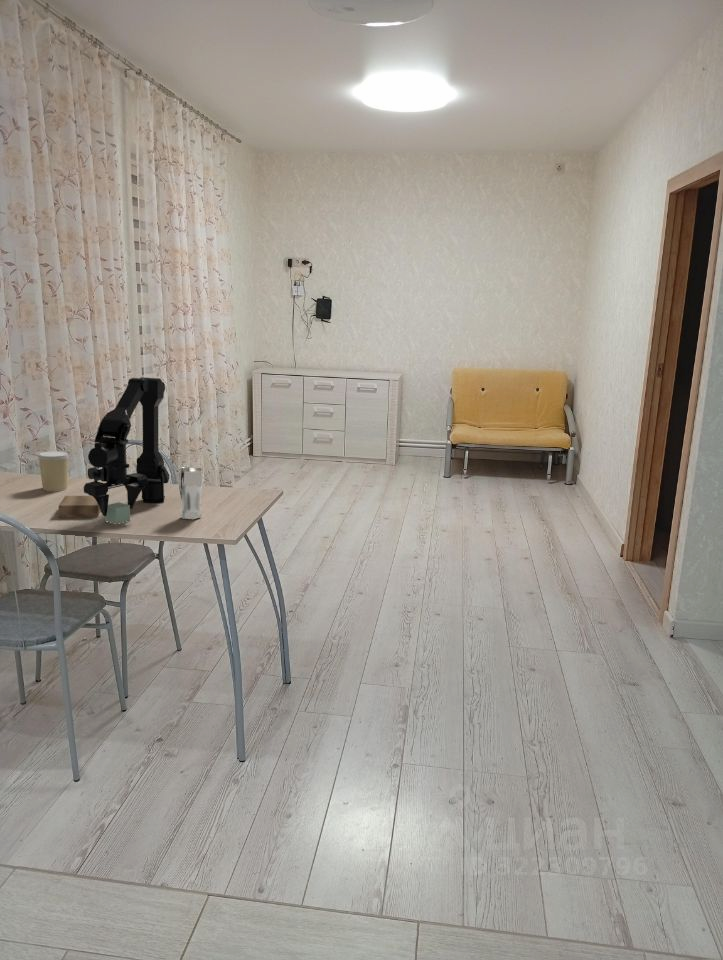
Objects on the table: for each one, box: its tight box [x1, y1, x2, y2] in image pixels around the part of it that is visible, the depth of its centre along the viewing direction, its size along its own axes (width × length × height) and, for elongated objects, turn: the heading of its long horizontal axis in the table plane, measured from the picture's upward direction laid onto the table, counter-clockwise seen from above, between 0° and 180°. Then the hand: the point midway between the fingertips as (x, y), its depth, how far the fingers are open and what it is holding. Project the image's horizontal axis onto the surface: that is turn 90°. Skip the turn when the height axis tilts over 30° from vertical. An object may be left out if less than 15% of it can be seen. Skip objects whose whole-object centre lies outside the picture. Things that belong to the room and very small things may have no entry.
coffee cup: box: [37, 450, 70, 492], centre depth 251 cm, size 9×9×12 cm
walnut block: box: [58, 495, 102, 518], centre depth 228 cm, size 11×11×4 cm
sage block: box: [104, 501, 131, 525], centre depth 220 cm, size 5×5×5 cm
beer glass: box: [178, 466, 204, 520], centre depth 226 cm, size 7×7×15 cm
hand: (117, 512), depth 220 cm, fingers open, 9 cm apart
